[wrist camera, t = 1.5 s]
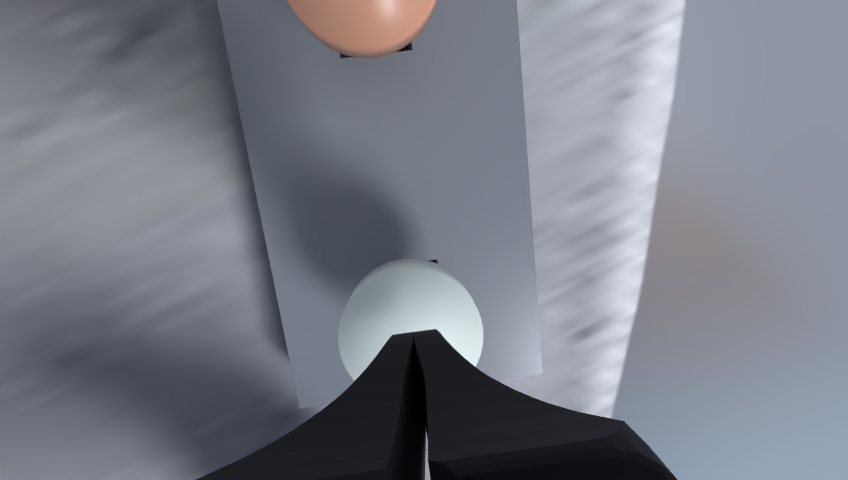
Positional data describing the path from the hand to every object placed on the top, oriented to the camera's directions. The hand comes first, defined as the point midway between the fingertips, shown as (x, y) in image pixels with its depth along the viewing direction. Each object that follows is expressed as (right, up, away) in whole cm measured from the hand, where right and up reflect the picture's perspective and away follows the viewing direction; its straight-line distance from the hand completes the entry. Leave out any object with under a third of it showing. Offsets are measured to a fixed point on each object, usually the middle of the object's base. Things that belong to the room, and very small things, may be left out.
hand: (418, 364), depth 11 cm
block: (-1, +7, +9) cm, 12 cm away
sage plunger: (-1, +1, +7) cm, 7 cm away
